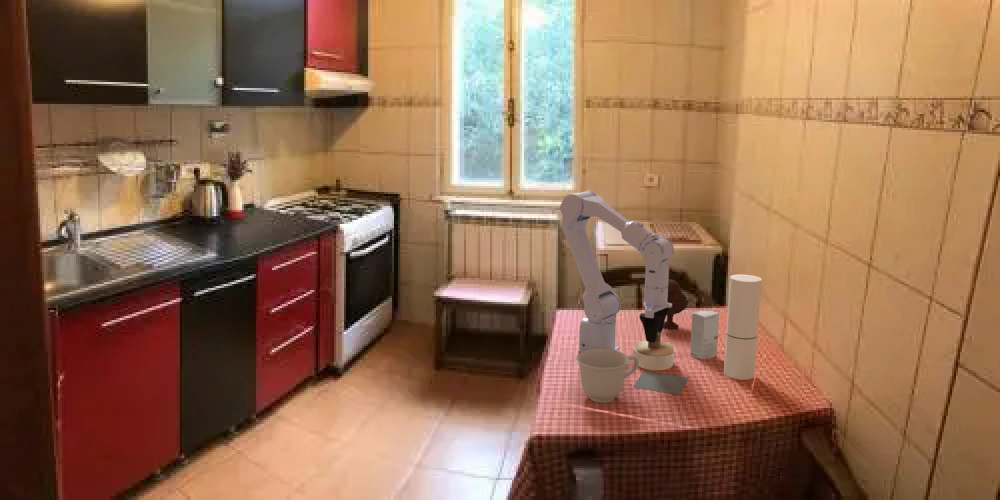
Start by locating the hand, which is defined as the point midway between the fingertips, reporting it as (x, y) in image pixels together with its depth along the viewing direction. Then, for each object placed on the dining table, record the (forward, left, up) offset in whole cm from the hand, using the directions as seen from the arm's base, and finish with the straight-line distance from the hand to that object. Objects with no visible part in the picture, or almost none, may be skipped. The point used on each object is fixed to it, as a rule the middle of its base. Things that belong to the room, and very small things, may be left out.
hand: (654, 336), depth 171 cm
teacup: (-5, -25, -8) cm, 27 cm away
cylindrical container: (+21, +1, -8) cm, 22 cm away
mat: (+5, -12, -7) cm, 15 cm away
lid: (0, 0, -3) cm, 3 cm away
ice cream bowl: (-2, +32, -8) cm, 33 cm away
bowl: (0, 0, -7) cm, 7 cm away
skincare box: (+11, +11, -8) cm, 17 cm away
